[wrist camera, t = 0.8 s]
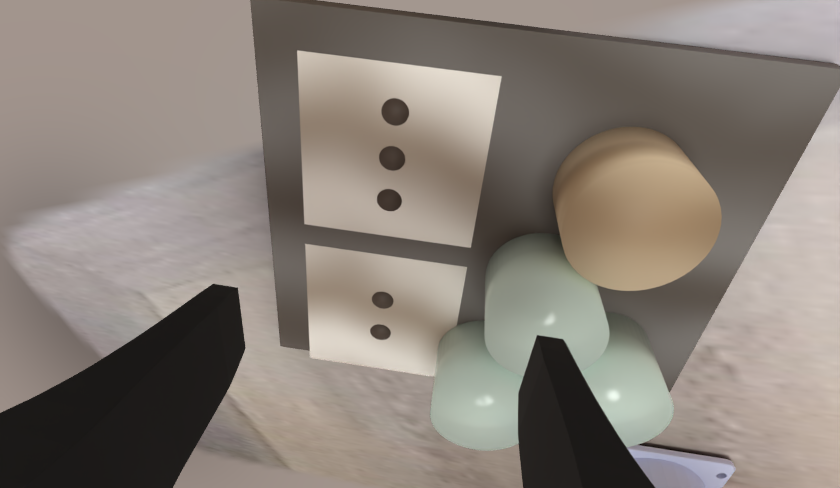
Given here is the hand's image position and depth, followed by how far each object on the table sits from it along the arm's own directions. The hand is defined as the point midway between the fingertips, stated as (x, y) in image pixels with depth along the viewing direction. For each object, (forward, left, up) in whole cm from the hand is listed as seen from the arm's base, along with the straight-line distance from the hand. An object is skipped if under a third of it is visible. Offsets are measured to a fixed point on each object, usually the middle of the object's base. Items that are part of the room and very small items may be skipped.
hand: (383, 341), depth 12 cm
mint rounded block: (-9, -4, -9) cm, 13 cm away
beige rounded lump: (+1, -7, -9) cm, 11 cm away
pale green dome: (-7, -9, -9) cm, 14 cm away
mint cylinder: (-4, -5, -9) cm, 11 cm away
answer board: (-2, -3, -10) cm, 10 cm away
